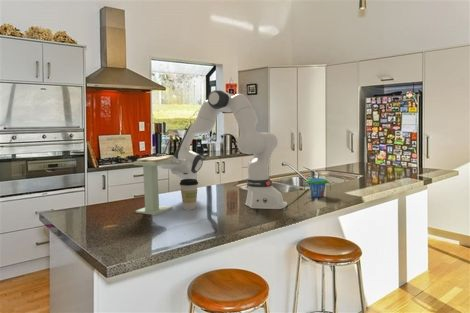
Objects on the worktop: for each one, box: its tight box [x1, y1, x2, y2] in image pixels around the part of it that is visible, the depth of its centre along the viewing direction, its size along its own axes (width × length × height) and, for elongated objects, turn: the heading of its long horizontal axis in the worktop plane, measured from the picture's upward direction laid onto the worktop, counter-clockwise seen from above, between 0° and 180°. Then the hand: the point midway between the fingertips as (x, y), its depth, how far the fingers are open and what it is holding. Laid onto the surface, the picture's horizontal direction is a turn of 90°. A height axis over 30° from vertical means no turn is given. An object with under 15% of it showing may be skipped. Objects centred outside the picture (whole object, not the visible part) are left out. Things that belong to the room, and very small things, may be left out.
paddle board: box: [136, 154, 175, 163], centre depth 197 cm, size 12×21×1 cm, turn 155°
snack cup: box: [303, 177, 332, 198], centre depth 221 cm, size 16×10×10 cm
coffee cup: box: [179, 178, 199, 211], centre depth 198 cm, size 10×10×15 cm
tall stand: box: [132, 160, 174, 216], centre depth 193 cm, size 13×14×26 cm
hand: (165, 158), depth 202 cm, fingers open, 8 cm apart
